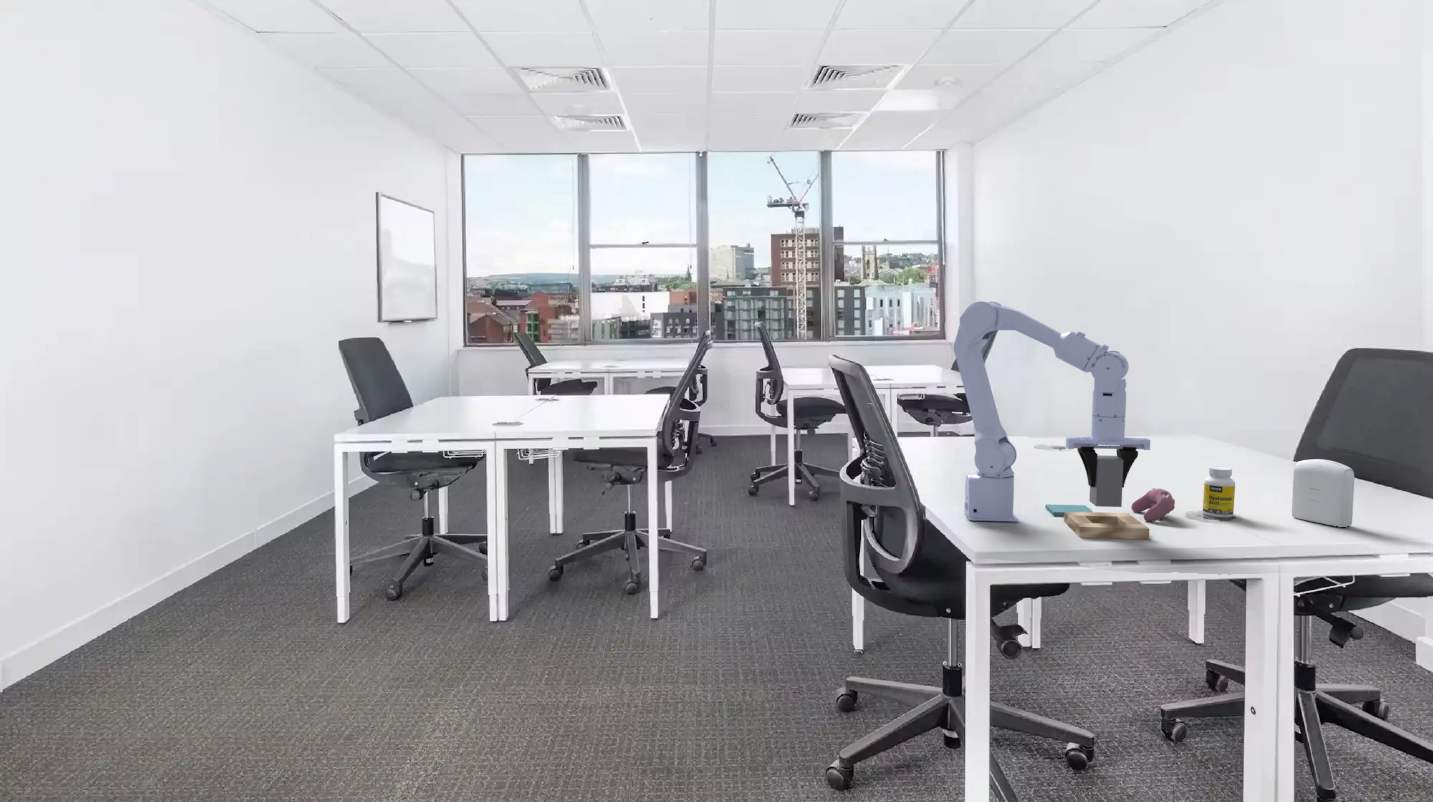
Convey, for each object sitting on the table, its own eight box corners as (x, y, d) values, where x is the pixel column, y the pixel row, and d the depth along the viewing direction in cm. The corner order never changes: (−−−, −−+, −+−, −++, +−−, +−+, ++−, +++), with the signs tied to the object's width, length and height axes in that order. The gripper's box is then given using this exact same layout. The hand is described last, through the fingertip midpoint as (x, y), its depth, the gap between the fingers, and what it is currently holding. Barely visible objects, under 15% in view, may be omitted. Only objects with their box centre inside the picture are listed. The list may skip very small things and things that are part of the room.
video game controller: (1164, 530, 163) (1183, 500, 162) (1142, 519, 164) (1161, 489, 163) (1148, 518, 173) (1166, 489, 172) (1128, 508, 173) (1145, 479, 172)
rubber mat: (1053, 515, 170) (1053, 511, 170) (1045, 508, 177) (1045, 504, 177) (1094, 516, 168) (1094, 513, 168) (1085, 508, 175) (1085, 505, 175)
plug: (1096, 506, 156) (1097, 459, 155) (1089, 501, 160) (1091, 455, 159) (1121, 506, 155) (1123, 459, 154) (1114, 501, 160) (1115, 455, 159)
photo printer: (1287, 517, 166) (1290, 456, 165) (1301, 515, 168) (1305, 455, 166) (1340, 529, 156) (1344, 465, 155) (1356, 527, 158) (1360, 463, 157)
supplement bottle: (1204, 516, 167) (1207, 469, 166) (1200, 510, 172) (1202, 464, 171) (1236, 519, 165) (1238, 470, 164) (1230, 512, 170) (1232, 466, 169)
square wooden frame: (1079, 537, 153) (1080, 526, 153) (1063, 521, 165) (1064, 511, 165) (1149, 539, 151) (1149, 528, 151) (1127, 523, 163) (1128, 513, 163)
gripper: (1073, 417, 153) (1071, 489, 155) (1157, 418, 151) (1154, 491, 152) (1064, 413, 160) (1061, 482, 162) (1144, 413, 158) (1141, 483, 159)
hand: (1105, 486), depth 157 cm, fingers closed on plug, 4 cm apart
